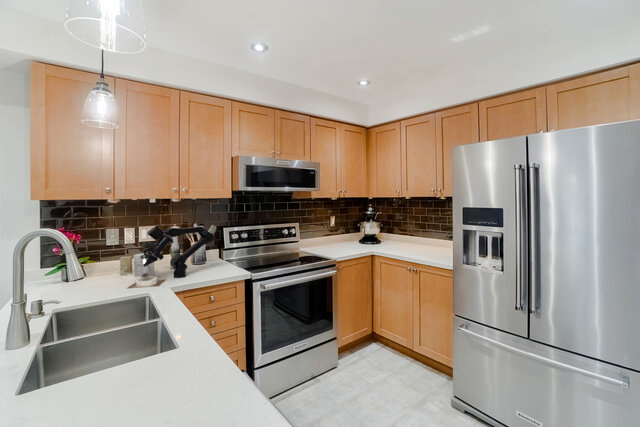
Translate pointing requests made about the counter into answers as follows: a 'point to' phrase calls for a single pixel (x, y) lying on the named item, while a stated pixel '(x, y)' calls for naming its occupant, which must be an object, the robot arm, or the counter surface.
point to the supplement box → (137, 266)
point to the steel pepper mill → (145, 270)
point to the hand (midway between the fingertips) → (142, 265)
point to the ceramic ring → (146, 281)
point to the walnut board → (147, 286)
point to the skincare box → (125, 265)
